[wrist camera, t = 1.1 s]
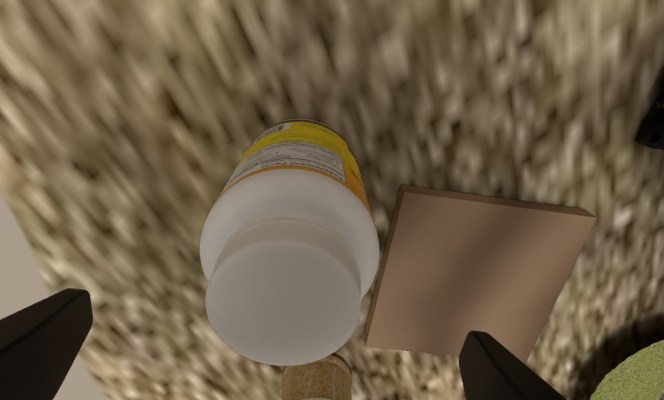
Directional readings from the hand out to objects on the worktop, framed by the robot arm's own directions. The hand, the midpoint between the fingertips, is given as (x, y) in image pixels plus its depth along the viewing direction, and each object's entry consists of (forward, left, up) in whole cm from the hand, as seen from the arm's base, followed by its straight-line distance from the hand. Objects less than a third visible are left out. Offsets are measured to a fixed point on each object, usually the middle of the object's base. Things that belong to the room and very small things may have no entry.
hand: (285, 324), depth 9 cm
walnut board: (-10, +5, -11) cm, 15 cm away
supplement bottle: (0, 0, -11) cm, 11 cm away
